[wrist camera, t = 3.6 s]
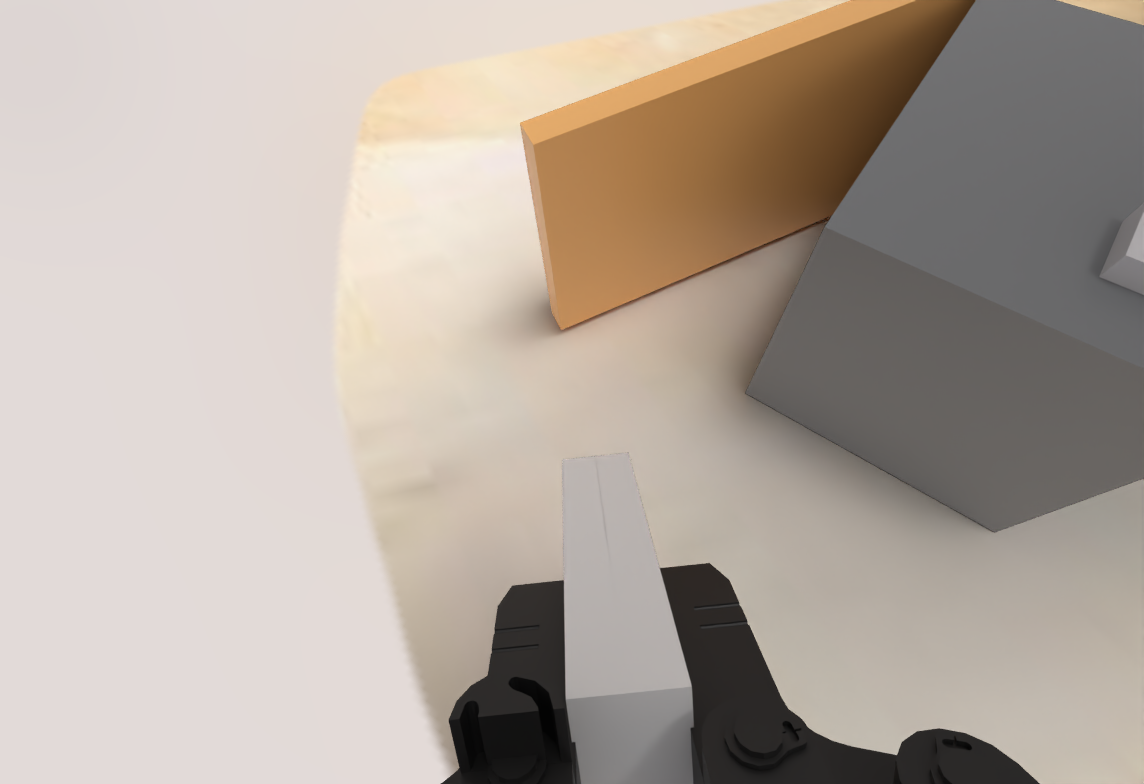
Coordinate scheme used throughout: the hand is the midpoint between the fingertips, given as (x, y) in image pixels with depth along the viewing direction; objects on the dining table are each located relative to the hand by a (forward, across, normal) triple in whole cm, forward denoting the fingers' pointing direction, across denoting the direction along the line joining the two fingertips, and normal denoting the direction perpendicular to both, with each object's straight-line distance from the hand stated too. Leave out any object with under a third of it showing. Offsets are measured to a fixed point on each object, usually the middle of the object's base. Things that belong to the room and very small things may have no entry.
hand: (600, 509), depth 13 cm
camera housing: (+12, +15, 0) cm, 20 cm away
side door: (+16, +7, +4) cm, 17 cm away
